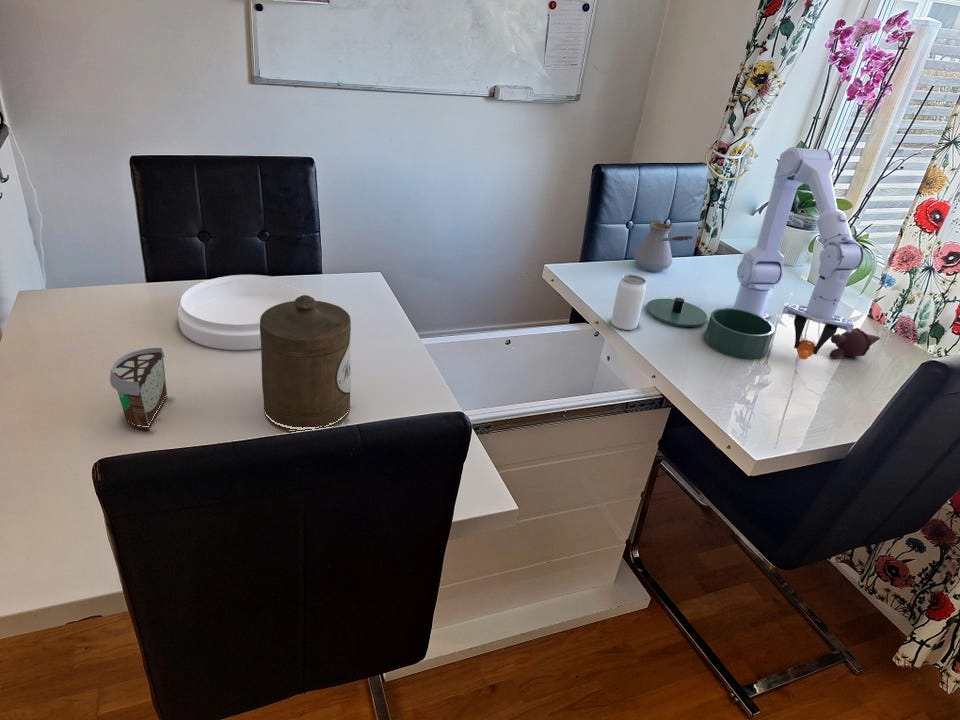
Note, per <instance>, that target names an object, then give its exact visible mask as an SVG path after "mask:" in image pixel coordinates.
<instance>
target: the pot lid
mask: <svg viewBox="0 0 960 720" xmlns="http://www.w3.org/2000/svg"><path fill="white" fill-rule="evenodd" d="M645 305H646V306H645V309H646V311H647V313H648V314H649V315H651V316H652V317H653V318H655V319H656V320H659V321H661V322H663V323H665V324H670V325H673V326H679V327H688V328H689V327H691V328H693V327H699V326H702V325H704V324H706V322H707V321H708V315H707V313H706V312H705V311H704V310H703V309H702V308H700V307H698V306H696V305H694V304H692V303H690V302H687V301H685V299H684V298H682V297H675V298H674V299H673V298H656V299H652V300H649V301H648V302H647V303H646V304H645Z"/></svg>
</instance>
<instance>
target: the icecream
mask: <svg viewBox="0 0 960 720" xmlns="http://www.w3.org/2000/svg"><path fill="white" fill-rule="evenodd" d="M880 339H881V337H880V336H877V335H873V334H870V333H866V332H864V331H863V330H861V329H860V328H858V327H856V328H853V329H852V331H851V333H850V332H847V331H846V330H845V332H843V333H841V334H840V333H835V334H834V335H833V336H832V337H831V338H830V342H831V343H832V344H835V346H836V347H837V348H834V349H832V350H831V351H830V353H829V357H830V358H832V359H838V358H840V357H842V356H843V355H846V356H849V357H864V356H865V355H866V354H867V352H869V350H870V348H871V346H872V345H874V344H875V343H876V342H878V341H879V340H880Z"/></svg>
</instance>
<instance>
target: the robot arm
mask: <svg viewBox="0 0 960 720" xmlns="http://www.w3.org/2000/svg"><path fill="white" fill-rule="evenodd" d="M835 165H836V164H835V162H834V157H833V153H832V152H831V151H830V150H829V149H827V148H821V149H819V148H802V147H797V146H791V147H788V148H787V149H785V150H784V151H782V152H781V153H780V155H779V159H778V162H777V166H776V170H775V173H774V177H773V179H774V180H773V184H772V188H771V191H770V196H769V199H768V203H767V207H766V210H765V214H764V216H763V220H762V224H761V228H760V232H759V235H758V239H757V242H756V245H755V246H754V247H752V248H751V249H749V250H747V251H746V252H744V253H743V257H742V259H741V261H740V262H739V264H738V265H737V270H736V277H737V279H738V282H739V283H740V285H739V287H738V291H737V294H736V297H735V300H734V303H733V307H732V309H739V310H743V311H747V312H751V313H754V314H756V315H759V316H761V317H763V318H765V319H767V318H769V317H770V315H769V314H768V313H767V311H768V309H769V306H770V302H771V300H772V297H773V289H774V287H775V286H776V285H779V283H780V282H781V281H782V279H783V276H784V264H785V260H786V259H785V257H784V255H783V254H782V253H781V252H780V248H781V245H782V242H783V237H784V235H785V231H786V228H787V225H788V221H789V217H790V214H791V211H792V207H793V203H794V199H795V196H796V194H797V190H798V188H800V187H802V185H807V186H808V187H809V189H810V192H811V194H812V197H813V200H814V202H815V205H816V208H817V210H818V213H819V216H818V217H817V219H816V222H815V223H816V226H817V230H818V234H819V237H820V241H821V244H822V250H820V253H819V267H818V277H817V280H816V282H815V285H814V287H813V290H812V291H811V292H812V293H811V295H810V298H809V300H808V304H807V306H804V305H799V304H793V303H788V302H785V305H784V307H783V310H782V313H781V314H784V315H791V316H794V319H793V326H794V330H795V332H794V334H795V339H794V340H795V341H794V345H793V349H796V350H797V347H798V345H799V342H800V340H801V339H802V334H803V332H804V329H805V326H806V324H807V321H808V320H809V321H812V322H813V323H817V324H823V325H824V327H823V329H822V332H821V334H820V337H819V339H818V340H817V343H816V347H815V350H814V353H813V354H812V355H817V354H818V353H819V351H820V350H821V348H822V347H823V346H824V344H825V343H826V342H827V341H829V339H831V337H832V336H833V335H836V334H837V331H838V329H840V330H844V331H845V332H846V331H847V332H850V333H851V331H852V329H854V327H855V321H854V320H850V319H848V318H844V317H842V316H839V315H837V314H836V311H837V310H838V309H837V308H838V306H839V303H840V301H841V299H842V296H843V294H844V291H845V288H846V287H847V284H848V282H849V280H850V276H851V274H852V271H855V270H857V269H859V268H860V267H861V265H862V264H863V262H864V258H865V253H864V247H863V245H861V244H860V243H859V242H858V241H857V240H856V239H855V238H853V236H852V232H851V229H850V226H849V223H848V218H847V215H846V213H845V212H844V211H842V210H840V209H838V204H837V200H836V195H835V189H834V184H833V180H832V179H833V178H832V173H833V171H834V169H835Z"/></svg>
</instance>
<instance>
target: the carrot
mask: <svg viewBox="0 0 960 720" xmlns="http://www.w3.org/2000/svg"><path fill="white" fill-rule="evenodd" d="M816 345H817V343H816V342H815V340H813V339H812V338H810V337H804V338H801V339H800V342H799V345H798V347H797V349H796V352H797V354H798V357H799V359H801V360H807V359H808V358H809V357H811V356H813V355H814V354H813V353H814V350H815V347H816Z"/></svg>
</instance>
